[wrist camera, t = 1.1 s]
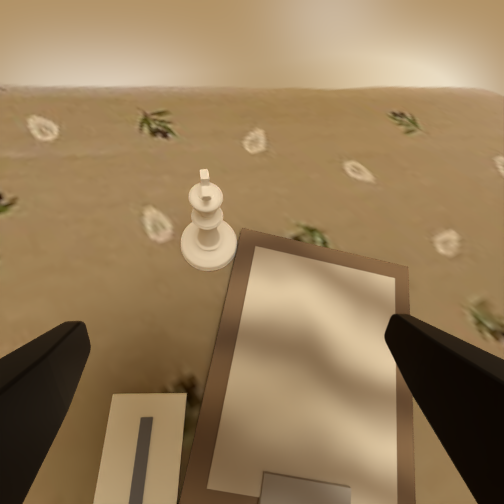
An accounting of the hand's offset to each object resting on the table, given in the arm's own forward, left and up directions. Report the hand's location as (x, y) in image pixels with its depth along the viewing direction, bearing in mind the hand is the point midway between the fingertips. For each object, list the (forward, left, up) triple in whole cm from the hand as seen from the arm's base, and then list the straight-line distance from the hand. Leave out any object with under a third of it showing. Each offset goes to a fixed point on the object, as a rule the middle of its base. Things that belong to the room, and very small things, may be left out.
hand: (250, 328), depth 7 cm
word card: (-9, +4, -13) cm, 16 cm away
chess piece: (+7, +3, -14) cm, 16 cm away
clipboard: (-1, -7, -13) cm, 15 cm away
